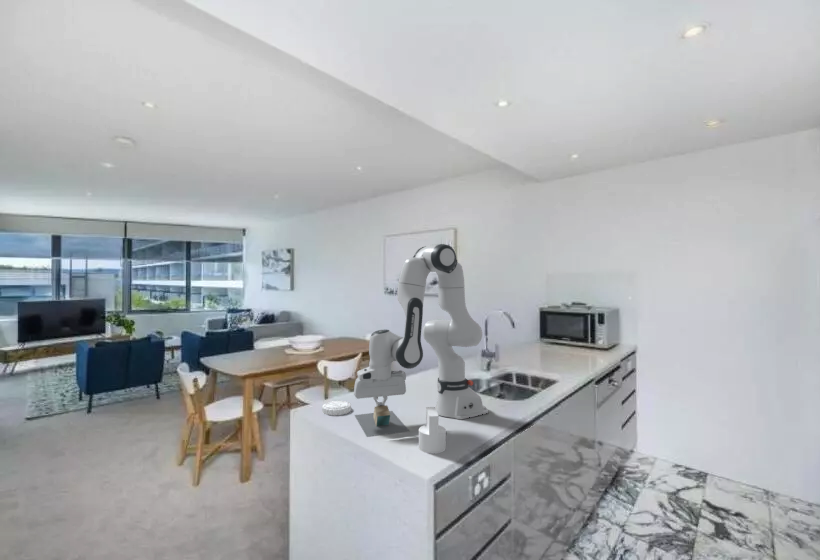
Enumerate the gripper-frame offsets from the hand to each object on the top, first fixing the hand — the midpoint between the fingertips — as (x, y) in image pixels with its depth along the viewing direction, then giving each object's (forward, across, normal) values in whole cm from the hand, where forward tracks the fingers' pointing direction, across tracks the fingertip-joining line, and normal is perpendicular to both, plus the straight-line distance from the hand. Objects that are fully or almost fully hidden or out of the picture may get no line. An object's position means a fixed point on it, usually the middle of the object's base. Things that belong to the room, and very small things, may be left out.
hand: (380, 407), depth 149 cm
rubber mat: (+6, 0, +1) cm, 6 cm away
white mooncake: (+7, +15, -18) cm, 25 cm away
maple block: (+1, 0, 0) cm, 1 cm away
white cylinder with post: (+7, -12, +26) cm, 29 cm away
